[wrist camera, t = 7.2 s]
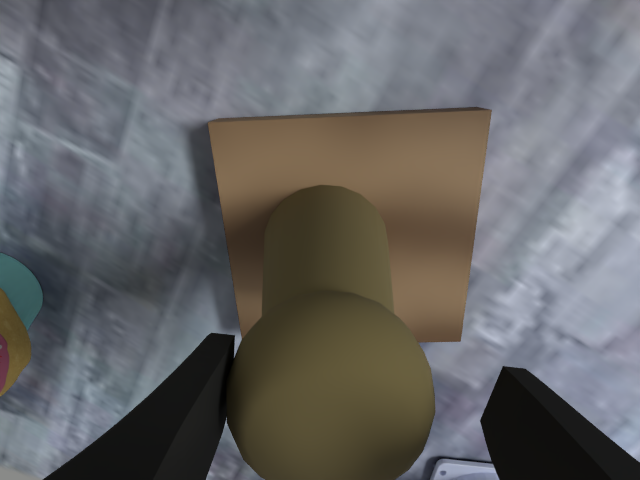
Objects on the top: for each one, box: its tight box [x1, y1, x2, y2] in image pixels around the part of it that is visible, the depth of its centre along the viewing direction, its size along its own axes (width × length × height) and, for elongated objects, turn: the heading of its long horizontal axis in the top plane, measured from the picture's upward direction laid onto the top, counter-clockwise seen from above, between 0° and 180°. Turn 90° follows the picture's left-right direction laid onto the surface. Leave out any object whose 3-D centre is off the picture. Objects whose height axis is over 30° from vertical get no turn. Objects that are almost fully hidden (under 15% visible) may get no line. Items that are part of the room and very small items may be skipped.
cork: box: [226, 185, 435, 480], centre depth 13 cm, size 6×6×11 cm
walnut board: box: [208, 107, 492, 342], centre depth 19 cm, size 12×12×2 cm
